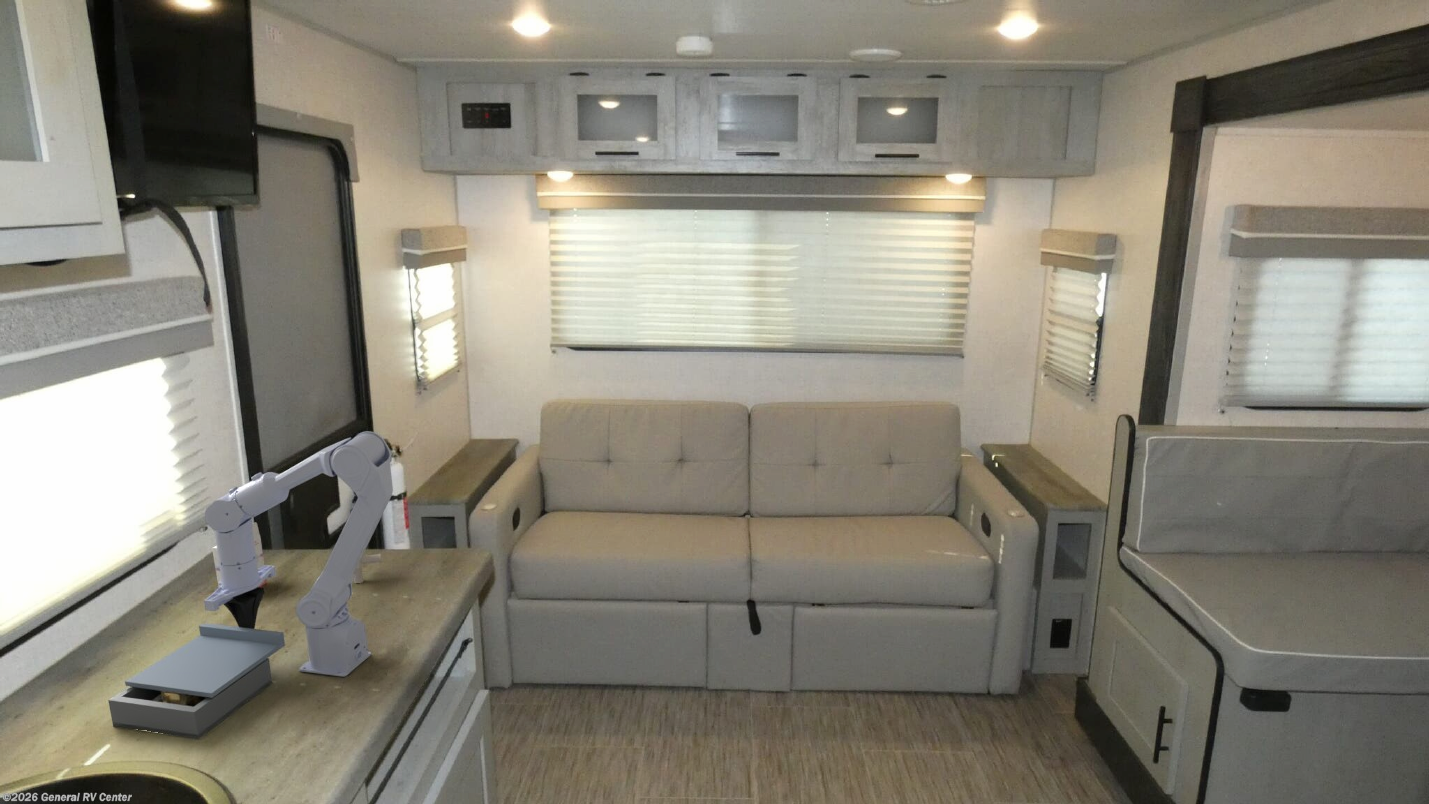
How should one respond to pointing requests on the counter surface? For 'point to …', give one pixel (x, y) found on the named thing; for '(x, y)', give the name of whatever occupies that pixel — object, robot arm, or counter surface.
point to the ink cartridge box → (257, 548)
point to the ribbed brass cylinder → (180, 698)
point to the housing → (186, 707)
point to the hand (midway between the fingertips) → (247, 629)
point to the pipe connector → (365, 560)
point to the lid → (210, 660)
